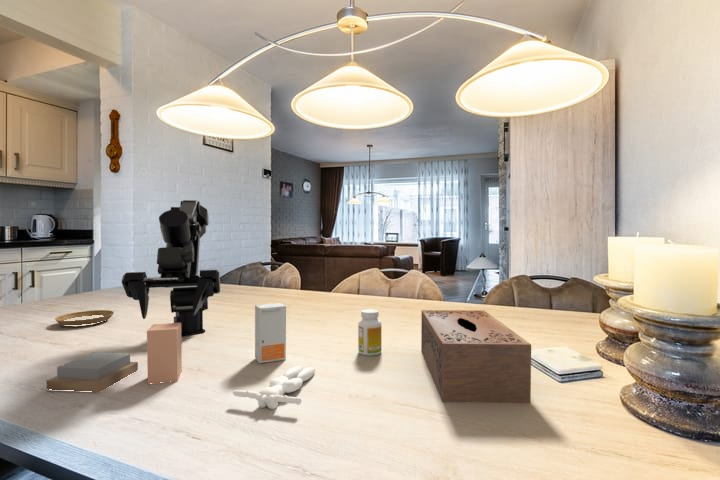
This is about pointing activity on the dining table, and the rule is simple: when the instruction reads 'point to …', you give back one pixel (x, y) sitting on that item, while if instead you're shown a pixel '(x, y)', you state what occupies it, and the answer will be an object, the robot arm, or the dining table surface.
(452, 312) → the tissue box cover
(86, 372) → the tower top slab
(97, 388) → the tower base slab
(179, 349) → the terracotta block
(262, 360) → the skincare box
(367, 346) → the supplement bottle
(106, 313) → the plant saucer
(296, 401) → the decorative figure
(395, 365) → the dining table surface
